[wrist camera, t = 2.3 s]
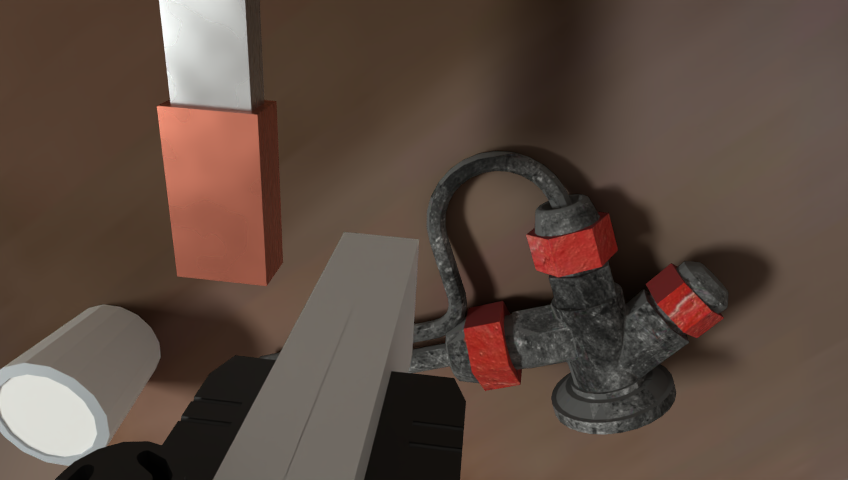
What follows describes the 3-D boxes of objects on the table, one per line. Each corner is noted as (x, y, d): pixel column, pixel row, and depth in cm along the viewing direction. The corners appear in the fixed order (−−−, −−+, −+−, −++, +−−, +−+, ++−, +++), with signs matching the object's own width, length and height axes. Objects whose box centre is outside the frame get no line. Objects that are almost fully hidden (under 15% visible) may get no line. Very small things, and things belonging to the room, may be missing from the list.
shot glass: (49, 297, 40) (-38, 365, 33) (153, 293, 39) (84, 363, 32) (85, 388, 42) (11, 467, 36) (182, 387, 41) (124, 467, 35)
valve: (676, 90, 32) (731, 356, 36) (233, 213, 40) (315, 425, 43) (701, 103, 26) (764, 420, 30) (174, 245, 34) (274, 488, 37)
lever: (130, -281, 17) (91, -303, 16) (275, -275, 17) (251, -297, 15) (189, 252, 24) (166, 274, 23) (293, 263, 24) (277, 287, 22)
